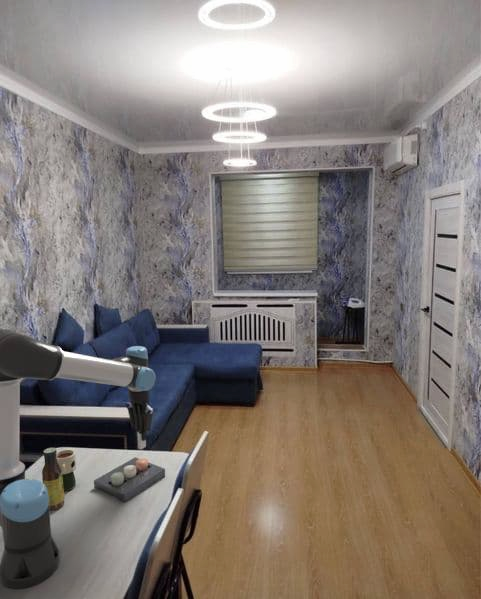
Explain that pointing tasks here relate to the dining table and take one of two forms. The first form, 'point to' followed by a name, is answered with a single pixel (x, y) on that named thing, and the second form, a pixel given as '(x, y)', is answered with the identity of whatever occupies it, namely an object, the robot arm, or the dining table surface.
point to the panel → (129, 481)
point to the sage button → (117, 479)
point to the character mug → (67, 467)
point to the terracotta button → (142, 464)
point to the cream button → (130, 471)
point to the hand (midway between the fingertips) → (142, 447)
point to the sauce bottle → (53, 479)
